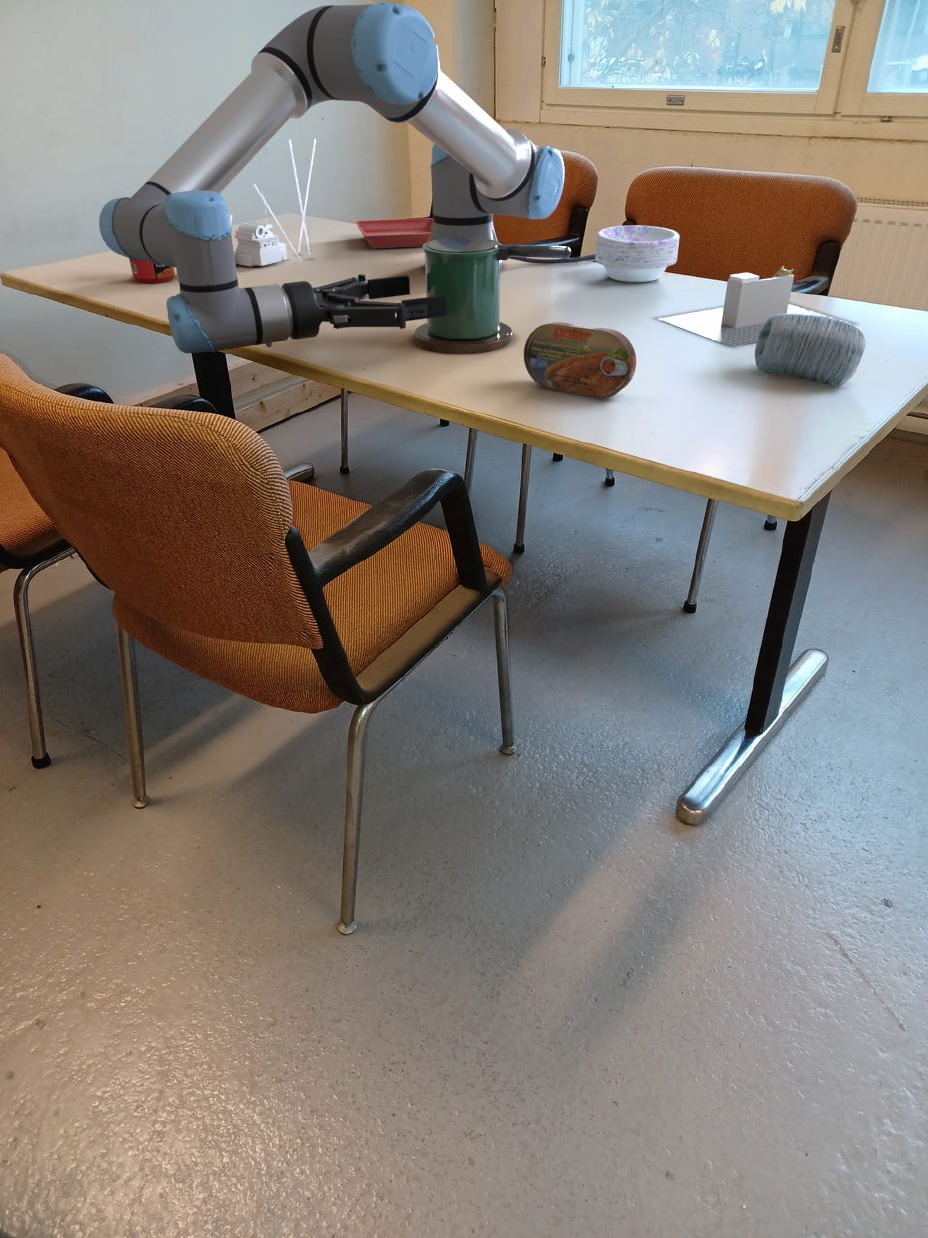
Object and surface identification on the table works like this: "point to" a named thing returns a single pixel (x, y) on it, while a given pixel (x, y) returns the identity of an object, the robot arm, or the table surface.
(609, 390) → the tin
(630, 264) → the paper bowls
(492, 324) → the pot
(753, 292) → the model
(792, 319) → the spool
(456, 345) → the turntable
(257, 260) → the wifi router
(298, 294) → the robot arm
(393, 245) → the plant saucer
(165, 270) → the canned food
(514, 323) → the table surface
